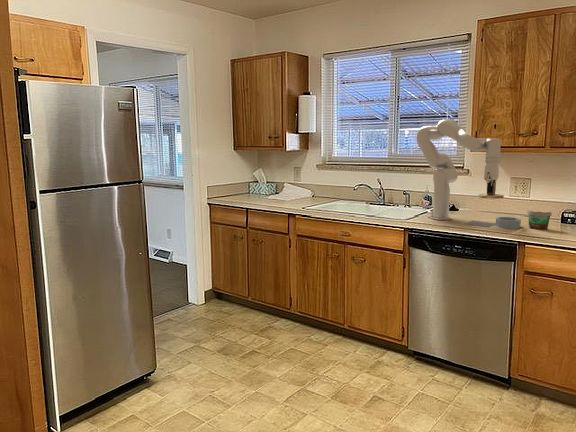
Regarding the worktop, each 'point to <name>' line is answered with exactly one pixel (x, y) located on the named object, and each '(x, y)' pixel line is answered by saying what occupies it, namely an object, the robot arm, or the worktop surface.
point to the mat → (480, 223)
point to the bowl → (508, 222)
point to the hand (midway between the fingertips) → (491, 191)
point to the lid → (491, 194)
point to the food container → (539, 220)
